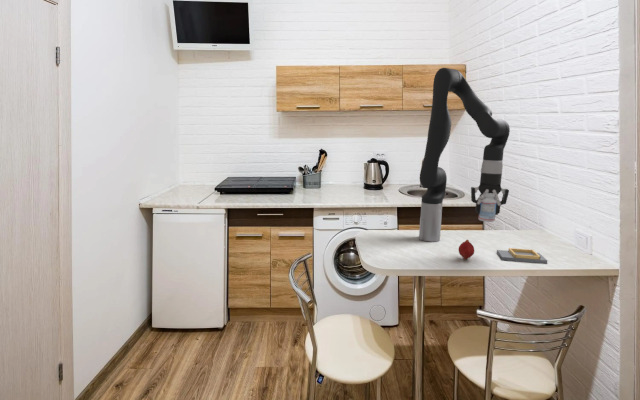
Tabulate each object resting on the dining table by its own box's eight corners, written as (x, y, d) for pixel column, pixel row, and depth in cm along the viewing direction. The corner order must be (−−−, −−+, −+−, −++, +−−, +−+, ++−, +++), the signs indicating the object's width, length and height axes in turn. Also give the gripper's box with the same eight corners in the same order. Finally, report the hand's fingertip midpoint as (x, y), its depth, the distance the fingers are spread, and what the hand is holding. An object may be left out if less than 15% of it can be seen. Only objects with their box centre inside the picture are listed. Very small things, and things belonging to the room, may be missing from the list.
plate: (502, 260, 156) (502, 254, 155) (496, 252, 166) (497, 247, 165) (547, 263, 153) (547, 257, 152) (538, 255, 162) (539, 249, 162)
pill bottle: (482, 218, 163) (485, 190, 161) (497, 220, 159) (500, 192, 157) (475, 220, 159) (478, 192, 157) (490, 223, 155) (493, 194, 153)
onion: (455, 257, 159) (456, 237, 157) (469, 256, 159) (471, 237, 158) (461, 261, 153) (463, 241, 152) (476, 261, 154) (477, 241, 152)
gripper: (473, 172, 153) (469, 214, 156) (513, 173, 151) (508, 217, 154) (470, 170, 161) (466, 210, 164) (508, 171, 158) (504, 213, 161)
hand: (487, 213), depth 159 cm, fingers closed on pill bottle, 6 cm apart
